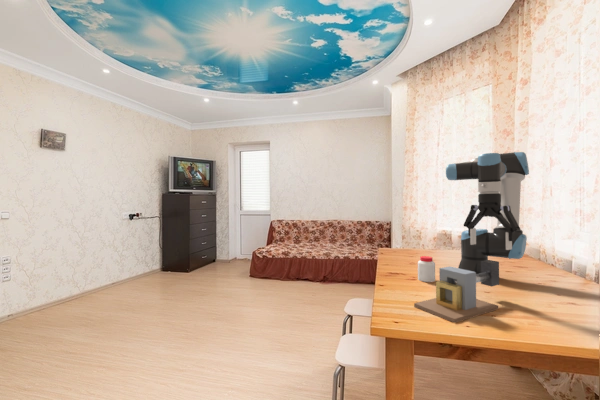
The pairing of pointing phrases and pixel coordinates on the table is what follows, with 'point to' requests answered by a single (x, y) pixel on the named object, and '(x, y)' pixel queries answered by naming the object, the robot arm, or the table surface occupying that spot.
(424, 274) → the pill bottle
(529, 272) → the table surface
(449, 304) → the frame
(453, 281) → the shaft
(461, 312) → the bearing block
